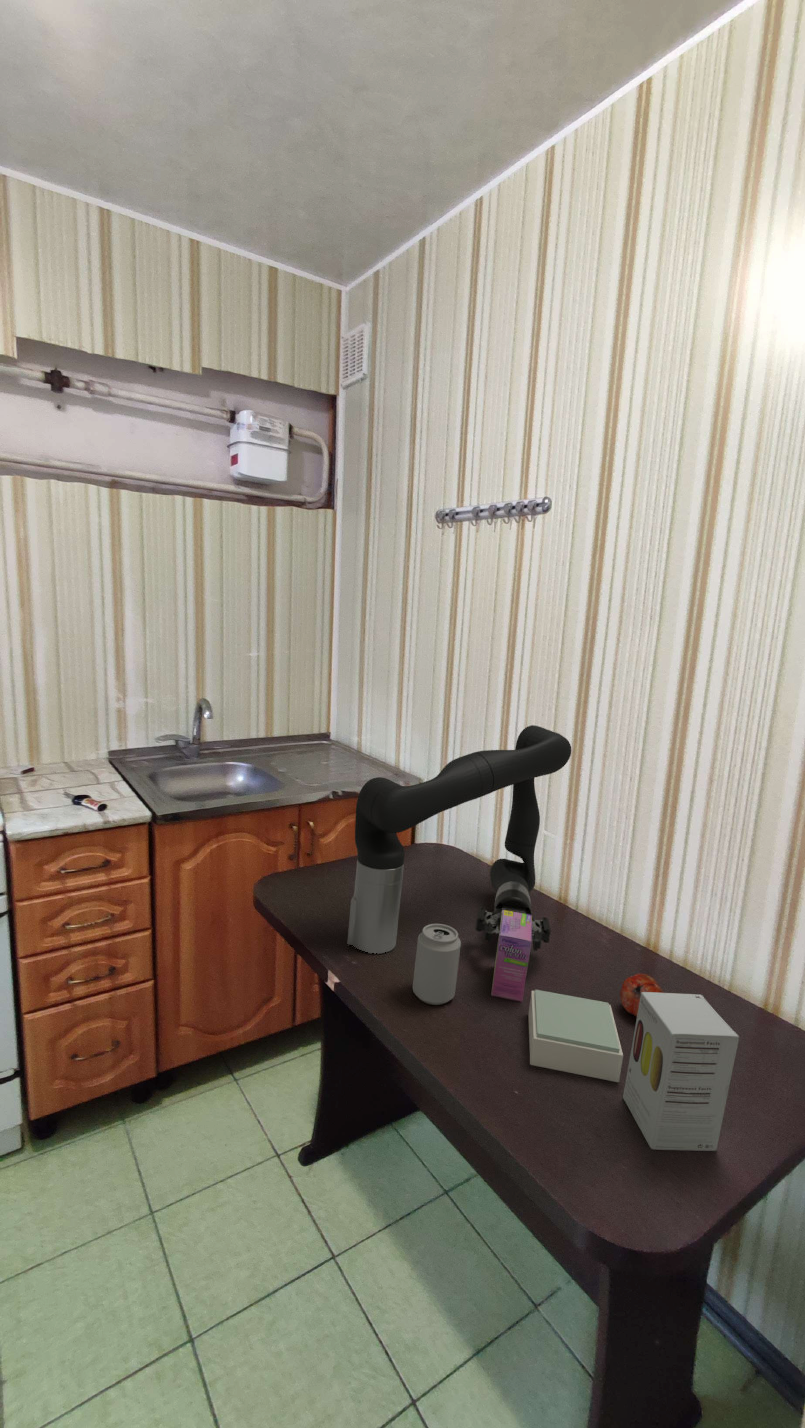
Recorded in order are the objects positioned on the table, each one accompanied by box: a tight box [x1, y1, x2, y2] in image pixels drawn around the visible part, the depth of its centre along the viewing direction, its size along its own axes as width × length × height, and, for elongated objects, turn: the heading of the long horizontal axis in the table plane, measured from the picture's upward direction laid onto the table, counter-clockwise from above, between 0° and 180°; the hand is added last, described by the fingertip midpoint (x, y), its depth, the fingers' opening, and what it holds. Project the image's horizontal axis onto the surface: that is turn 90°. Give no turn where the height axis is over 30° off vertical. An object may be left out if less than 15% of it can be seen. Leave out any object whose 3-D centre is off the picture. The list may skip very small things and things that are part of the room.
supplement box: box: [622, 992, 740, 1152], centre depth 87 cm, size 10×9×17 cm
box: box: [490, 910, 533, 1002], centre depth 119 cm, size 10×6×12 cm, turn 168°
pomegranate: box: [619, 973, 665, 1018], centre depth 114 cm, size 7×7×10 cm
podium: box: [527, 989, 624, 1083], centre depth 103 cm, size 13×13×5 cm
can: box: [412, 923, 462, 1006], centre depth 113 cm, size 8×8×12 cm
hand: (512, 942), depth 121 cm, fingers open, 8 cm apart
